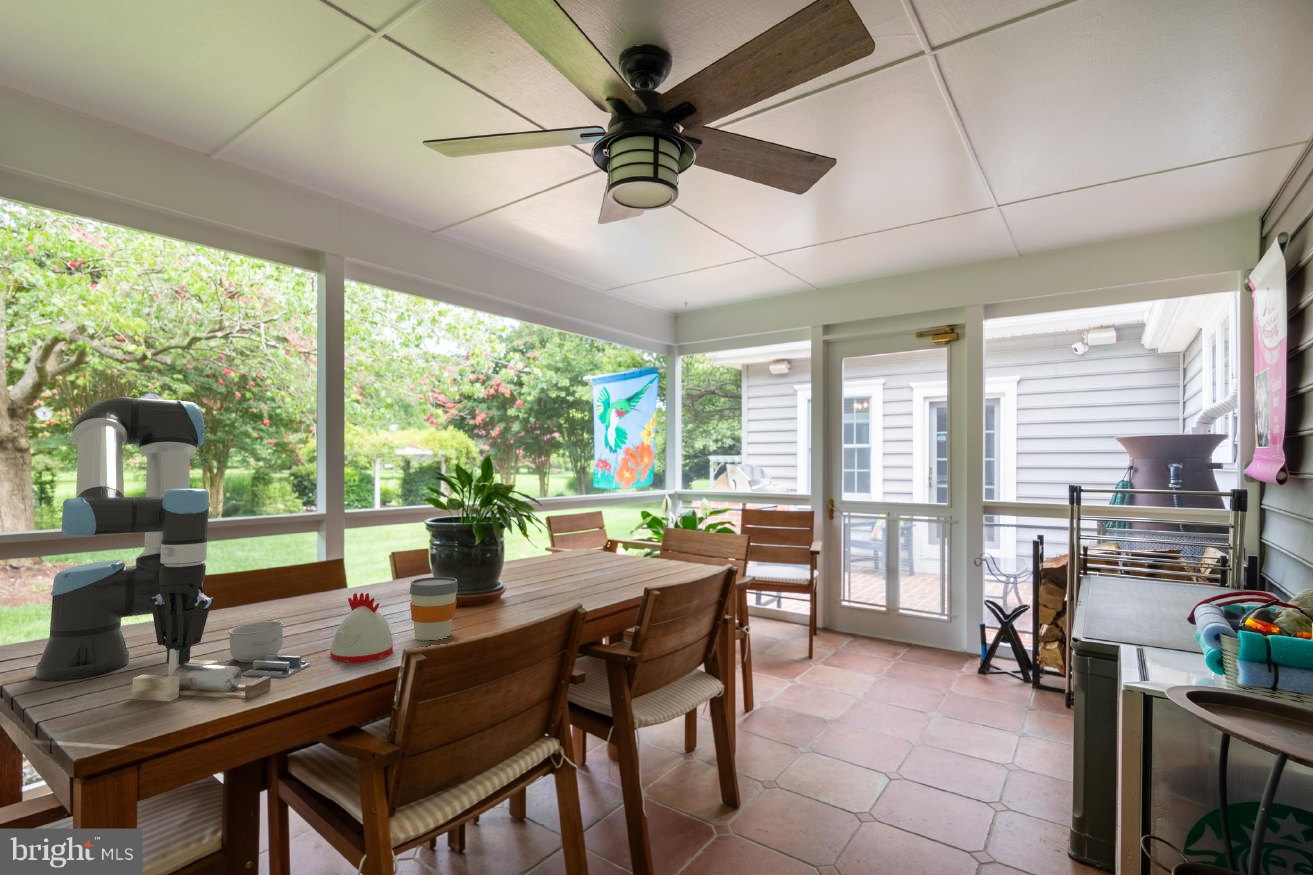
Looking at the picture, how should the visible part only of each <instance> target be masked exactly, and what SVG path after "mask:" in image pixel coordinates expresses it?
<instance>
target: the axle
mask: <svg viewBox="0 0 1313 875" xmlns="http://www.w3.org/2000/svg"><path fill="white" fill-rule="evenodd" d="M172 676H179V677H180V679H179V690H193V691H211V692H229V693H233V692H234V691H235V690H236V688H237V686H238V685H240V684H241V680H242V676H243V672H242V670H241V668H240V667H239V666H237V665H235V666H234V665H219V664H218V665H200V664H184V665H180V666H179V667H178V668H177V669H176V670H175V671H174V673H173V675H172Z"/></svg>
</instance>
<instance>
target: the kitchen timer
mask: <svg viewBox="0 0 1313 875" xmlns="http://www.w3.org/2000/svg"><path fill="white" fill-rule="evenodd" d="M347 601H348V605H349V606H350V609H351V611H349V613H347V615H346V616H345V617H344V618H343V619H342V621H340V624H339V625H338V627H337V630H336V633H335V635H334V638H333V641H332V643H331V647H330V655H329V657H330V658H331V659H332V660H335V661H340V662H341V661H342V662H344V664H361V663H369V662H373V661H379V660H381V659H384V658H386V657H388V656H391V654H392V653H393V651H394V650H393V649H394V644H393V640H394V639H393V635H392V632H391V628H390V625H389V623H388V621H387V620H386V618H385V616H384V615H383V614H382V613H381V612H380V611H379V610H378V608H379V607H380V602H377V603H376V604H375V606H374V603H375V597H373V598H372V597H371V598H370V593H369V592H367V593H365V595H364V592H360V593H359V597H358V593H357V592H355V593H353V594H352V597H348V598H347Z"/></svg>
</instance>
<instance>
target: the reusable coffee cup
mask: <svg viewBox="0 0 1313 875" xmlns="http://www.w3.org/2000/svg"><path fill="white" fill-rule="evenodd" d="M458 591H459V586H458V579H457V578H455V577H449V576H432V577H431V576H430V577H421V578H416V579H414V580H411V581H410V587H409V594H410V599H411V601H410V603H409V606H410V608H409V609H410V617H411V621H412V622H413V630H414V638H416V639H415V640H417V641H420V640H423V641H422V642H425V641H424V640H436V641H438V640H437V639H441V638H445V639H447V638H448V637H447V636H449V635H451V630H452V624H453V623H452V622H453V618H455V616H456V615H455V613H456V607H457V602H458V601H457V592H458ZM446 637H447V638H446ZM449 637H450V636H449ZM441 640H442V639H441Z"/></svg>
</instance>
